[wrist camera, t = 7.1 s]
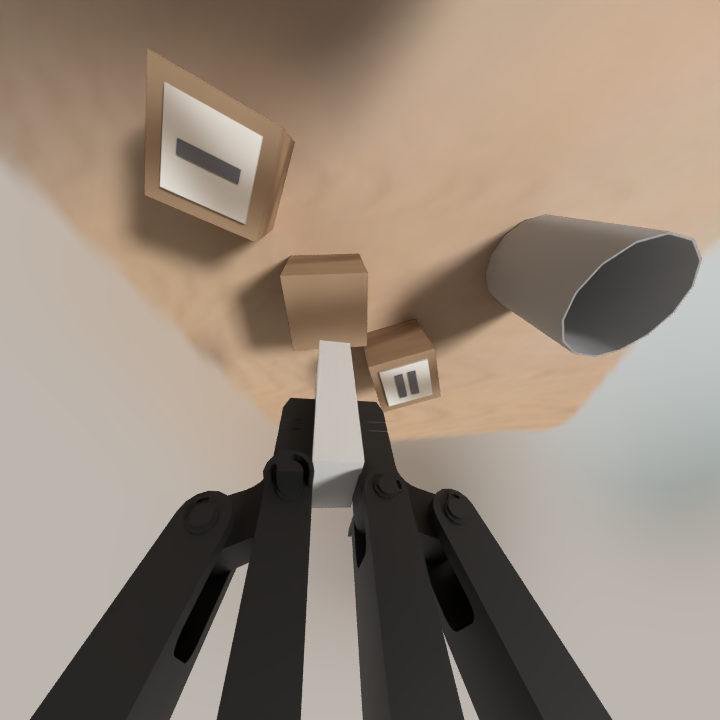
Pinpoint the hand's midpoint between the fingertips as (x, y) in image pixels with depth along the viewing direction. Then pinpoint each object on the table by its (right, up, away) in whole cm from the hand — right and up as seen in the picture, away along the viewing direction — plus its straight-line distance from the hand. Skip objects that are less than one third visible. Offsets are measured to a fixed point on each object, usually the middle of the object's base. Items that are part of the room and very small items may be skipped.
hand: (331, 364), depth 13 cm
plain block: (-2, +7, +11) cm, 13 cm away
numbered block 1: (-7, +14, +5) cm, 17 cm away
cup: (+18, +10, +12) cm, 23 cm away
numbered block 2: (+5, +1, +16) cm, 17 cm away
